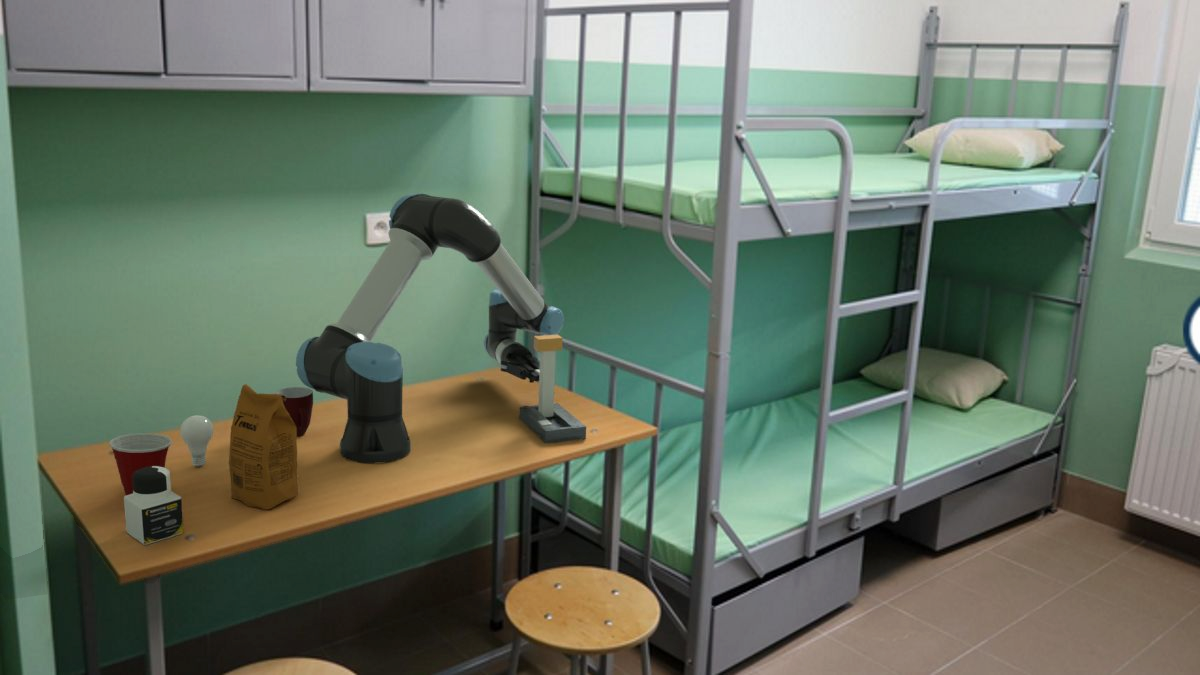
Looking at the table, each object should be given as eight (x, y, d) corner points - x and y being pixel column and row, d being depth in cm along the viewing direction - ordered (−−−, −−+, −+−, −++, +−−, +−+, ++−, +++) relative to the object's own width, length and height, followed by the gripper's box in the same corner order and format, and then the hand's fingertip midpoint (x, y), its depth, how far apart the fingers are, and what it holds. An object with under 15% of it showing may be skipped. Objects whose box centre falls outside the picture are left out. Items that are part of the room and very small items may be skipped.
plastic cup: (186, 499, 194) (182, 440, 192) (129, 515, 187) (124, 454, 184) (159, 483, 201) (155, 425, 198) (103, 498, 194) (98, 438, 191)
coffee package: (264, 482, 204) (260, 377, 199) (306, 498, 198) (302, 389, 192) (221, 497, 196) (216, 388, 191) (263, 514, 190) (258, 402, 184)
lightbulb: (182, 462, 212) (178, 412, 209) (214, 459, 215) (211, 409, 212) (183, 473, 207) (179, 422, 204) (216, 470, 209) (213, 419, 206)
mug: (326, 438, 229) (325, 396, 227) (293, 446, 224) (291, 403, 221) (303, 426, 237) (302, 385, 234) (270, 433, 231) (269, 391, 229)
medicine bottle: (144, 546, 175) (139, 481, 172) (125, 533, 180) (120, 469, 177) (184, 534, 180) (180, 470, 177) (165, 521, 185) (161, 459, 182)
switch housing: (519, 418, 248) (519, 406, 247) (557, 414, 252) (557, 402, 252) (545, 443, 232) (546, 430, 232) (585, 438, 236) (586, 425, 236)
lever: (531, 414, 246) (534, 336, 241) (555, 412, 248) (557, 334, 243) (536, 418, 243) (538, 339, 238) (559, 416, 245) (562, 337, 240)
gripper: (537, 368, 269) (571, 394, 249) (490, 372, 264) (521, 399, 243) (538, 341, 267) (572, 365, 247) (490, 344, 262) (522, 369, 241)
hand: (547, 382), depth 245 cm, fingers closed
